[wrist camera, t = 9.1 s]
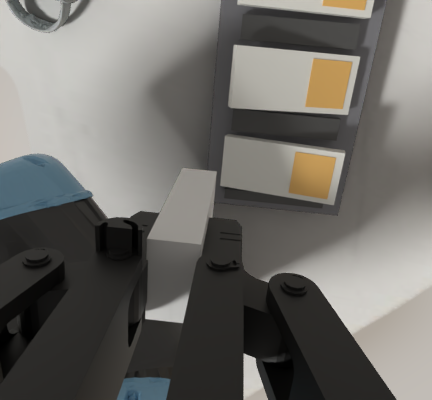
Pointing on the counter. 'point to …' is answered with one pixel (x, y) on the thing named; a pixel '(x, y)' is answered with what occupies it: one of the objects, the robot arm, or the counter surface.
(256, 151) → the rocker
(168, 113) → the counter surface
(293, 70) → the block
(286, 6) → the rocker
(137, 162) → the counter surface
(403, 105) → the counter surface
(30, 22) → the ceramic mug
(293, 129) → the rocker switch panel
